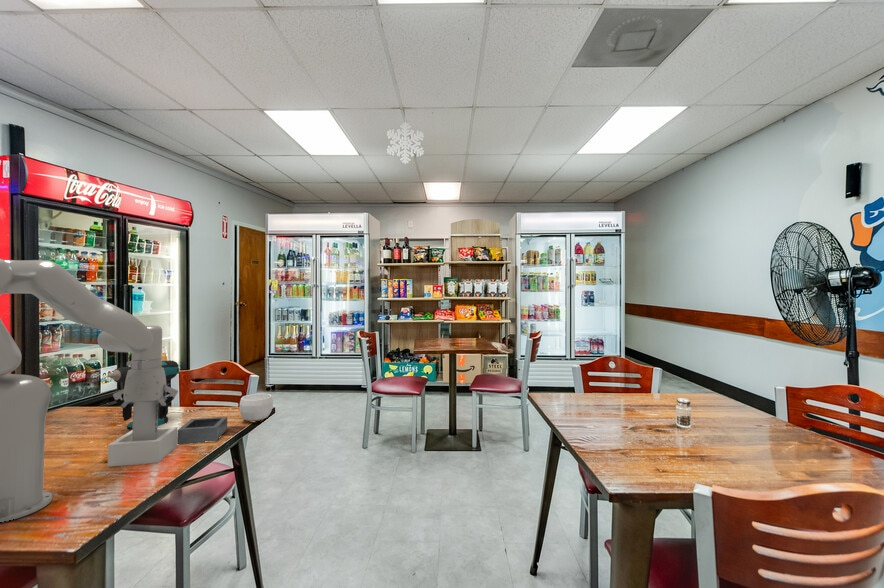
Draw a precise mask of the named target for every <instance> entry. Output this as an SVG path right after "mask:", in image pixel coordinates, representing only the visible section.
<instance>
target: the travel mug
mask: <svg viewBox="0 0 884 588" xmlns="http://www.w3.org/2000/svg"><path fill="white" fill-rule="evenodd" d="M132 421H133V428H132V430H133V431H132V441H146V440H156V439H157V430H158V428H159V426H158V401H152V402H133V405H132Z"/></svg>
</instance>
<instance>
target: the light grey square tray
mask: <svg viewBox="0 0 884 588" xmlns="http://www.w3.org/2000/svg"><path fill="white" fill-rule="evenodd" d="M178 429H179V428H178V426H174V427H172V426H171V427H158V430H157V439H156V440H146V441H132V431H133V429H131V430H130V431H128V432H127V433H125V434H122V436H120V437H119V438H117V439H115V440H114V441H112V442H110V443H109V444H107V445H108V446H107V468H110V467H120V466H121V467H123V466H134V465H136V466H137V465H146V464H156V463H157V464H158V463H160V462H161V461H162V460H163V459H165V458H166V457H167V456H168V455H169V454H170V453H172V452H173V450H175V449H176V448H177V447H178V445H177V437H178Z"/></svg>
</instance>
